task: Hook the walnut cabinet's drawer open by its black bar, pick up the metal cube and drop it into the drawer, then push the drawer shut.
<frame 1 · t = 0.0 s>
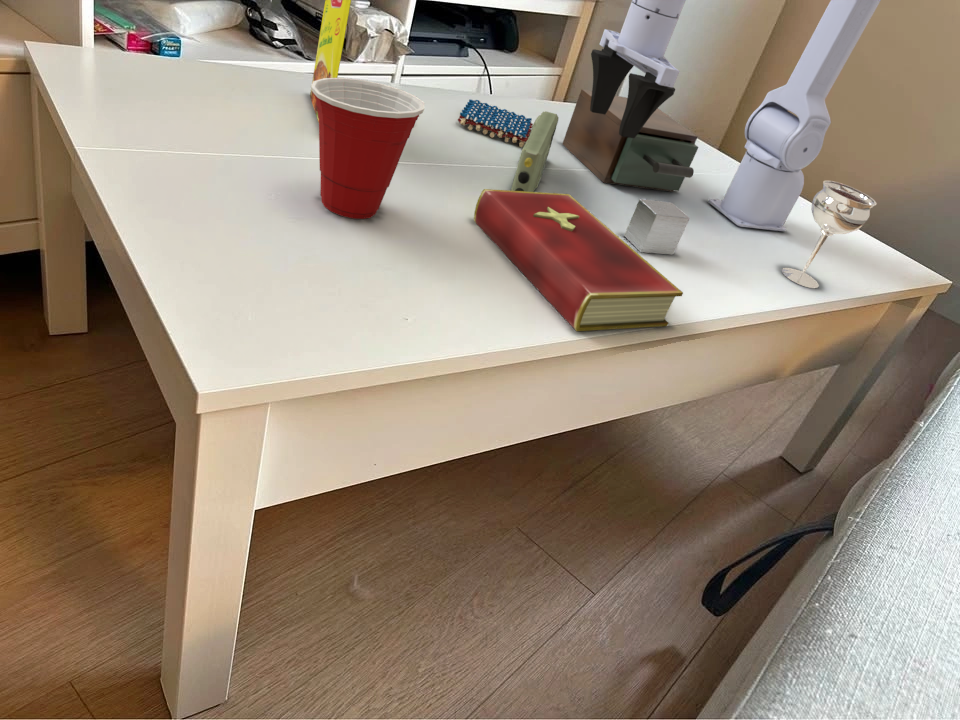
hand: (611, 124, 95), 10 cm above the table, tool pointing down, fingers open, 7 cm apart
metal cube: (648, 245, 93), on the table
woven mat: (494, 129, 114), on the table
plastic cup: (347, 207, 79), on the table
handheld radio: (524, 186, 98), on the table
hardcover book: (563, 272, 80), on the table
food package: (317, 118, 97), on the table
wineglass: (799, 279, 99), on the table
drawer: (642, 152, 110), point 4 cm above the table, slide at 0.5 cm
cabinet: (616, 167, 115), on the table
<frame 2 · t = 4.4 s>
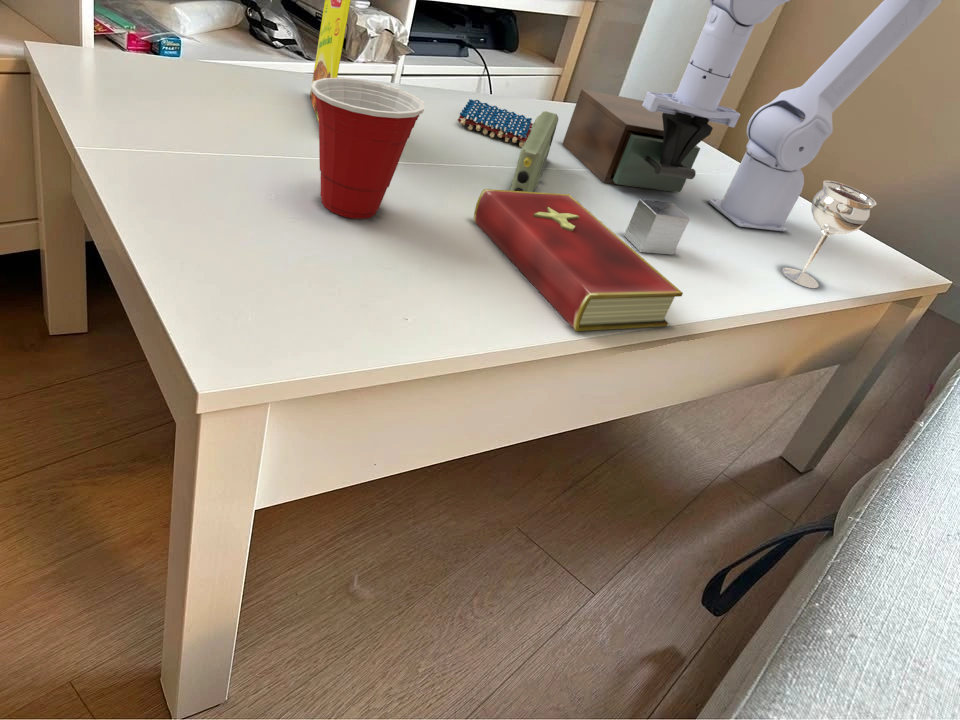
hand: (666, 168, 105), 5 cm above the table, tool pointing down, fingers closed, pressing on drawer
drawer: (644, 154, 109), point 4 cm above the table, slide at 1.0 cm, touching gripper
everything else where it was.
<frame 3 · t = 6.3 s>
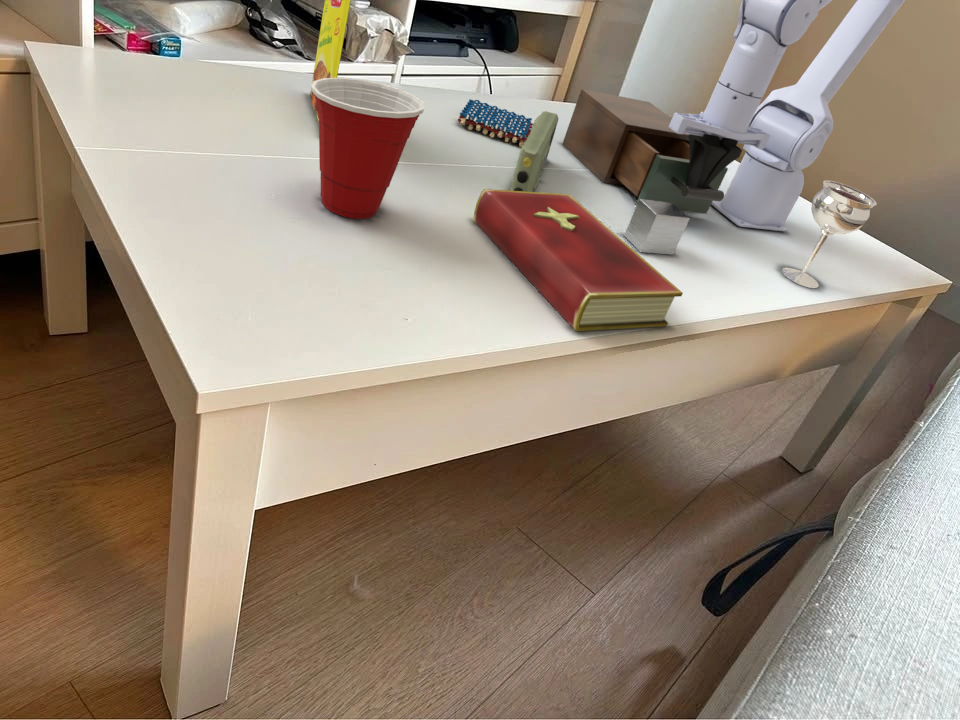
hand: (692, 191, 100), 5 cm above the table, tool pointing down, fingers closed, pressing on drawer
drawer: (668, 174, 105), point 4 cm above the table, slide at 7.7 cm, touching gripper
everything else where it was.
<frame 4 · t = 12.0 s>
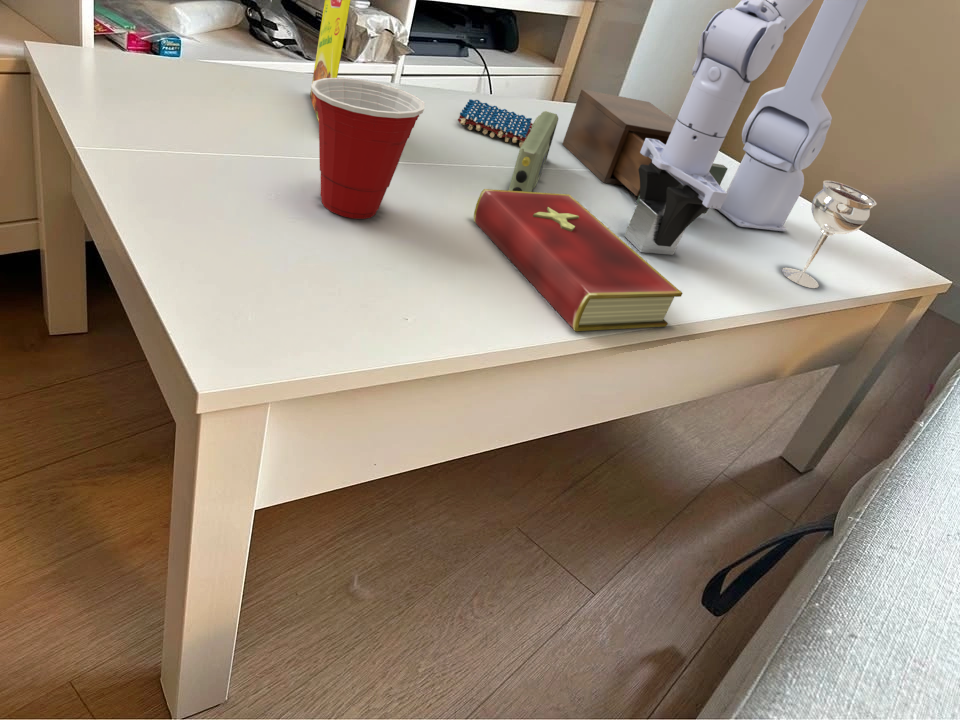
hand: (652, 235, 92), 1 cm above the table, tool pointing down, fingers closed on metal cube, 4 cm apart
metal cube: (648, 245, 93), on the table, touching gripper
drawer: (668, 173, 105), point 4 cm above the table, slide at 7.6 cm
everything else where it was.
when the fingers open (6 cm above the table, at t = 17.0 s): metal cube drops 3 cm, resting on drawer.
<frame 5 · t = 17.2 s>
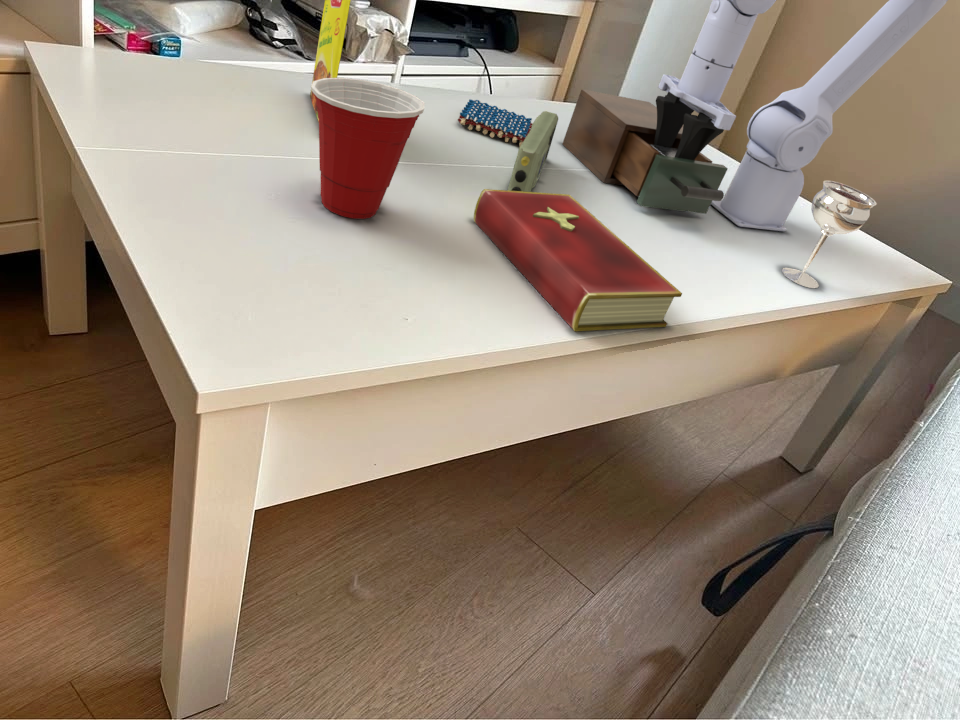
hand: (669, 160, 105), 6 cm above the table, tool pointing down, fingers open, 5 cm apart
metal cube: (657, 186, 107), point 2 cm above the table, touching drawer
drawer: (668, 174, 105), point 4 cm above the table, slide at 7.6 cm, touching metal cube
everything else where it was.
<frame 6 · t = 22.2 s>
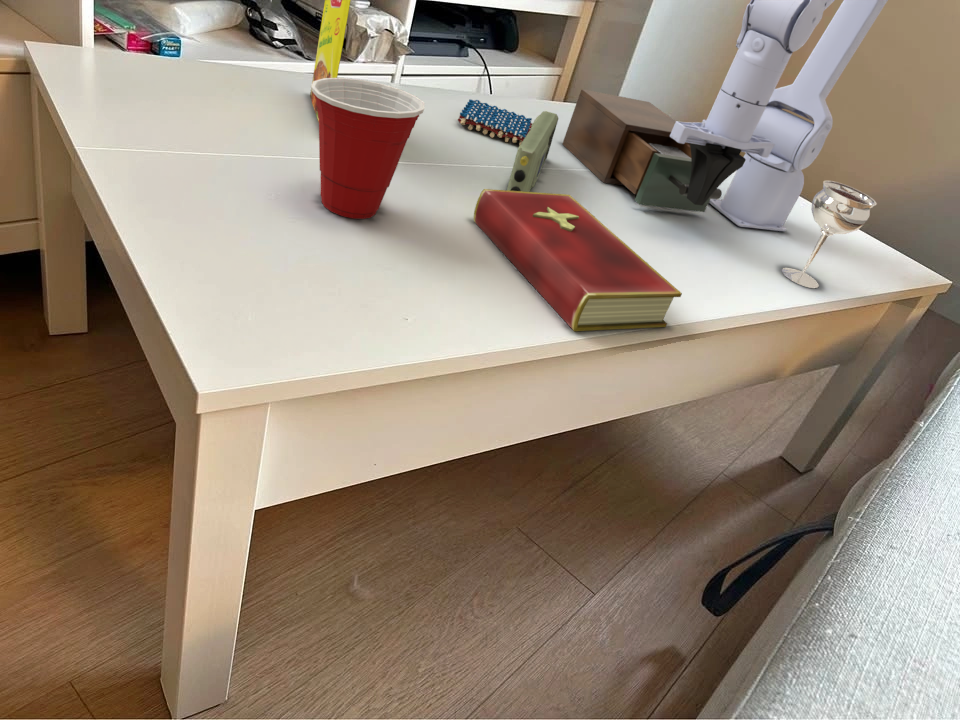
hand: (694, 201, 97), 4 cm above the table, tool pointing down, fingers closed, pressing on drawer
drawer: (666, 172, 105), point 4 cm above the table, slide at 7.1 cm, touching metal cube, gripper
everything else where it was.
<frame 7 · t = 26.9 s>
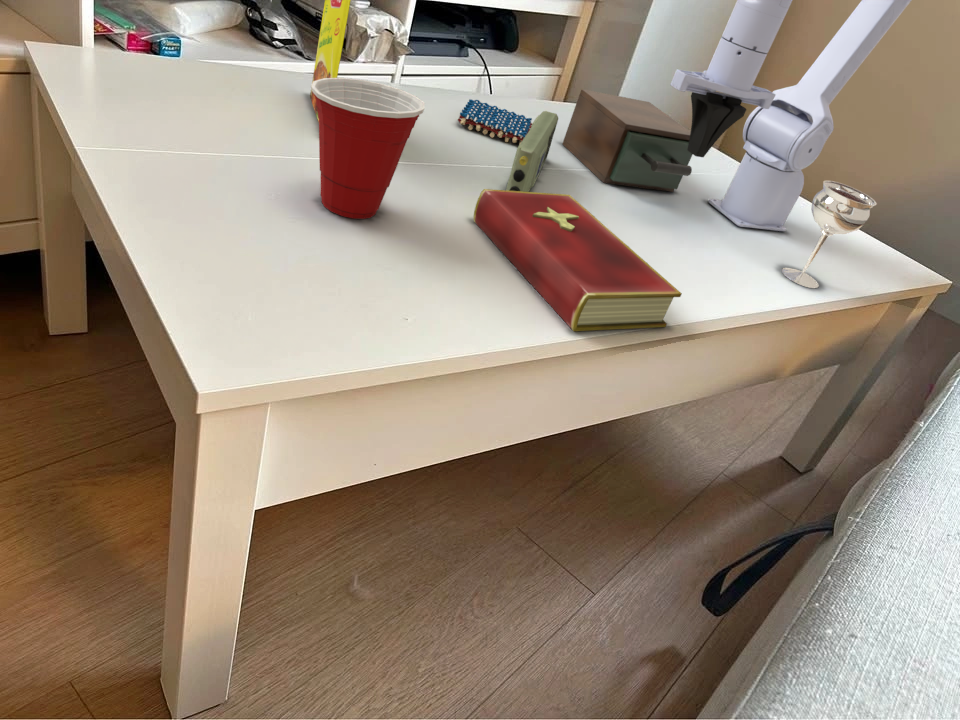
hand: (695, 153, 97), 9 cm above the table, tool pointing down, fingers closed
metal cube: (631, 163, 112), point 2 cm above the table, touching drawer
drawer: (640, 151, 110), point 4 cm above the table, slide at 0.0 cm, touching metal cube
everything else where it was.
at the end: drawer pulled out 7.7 cm at the most during the clip, back to where it started at the end; metal cube inside the target area in the cabinet (2.6 cm from its centre), point 2.0 cm above the cabinet's base; drawer slide at 0.0 cm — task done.
